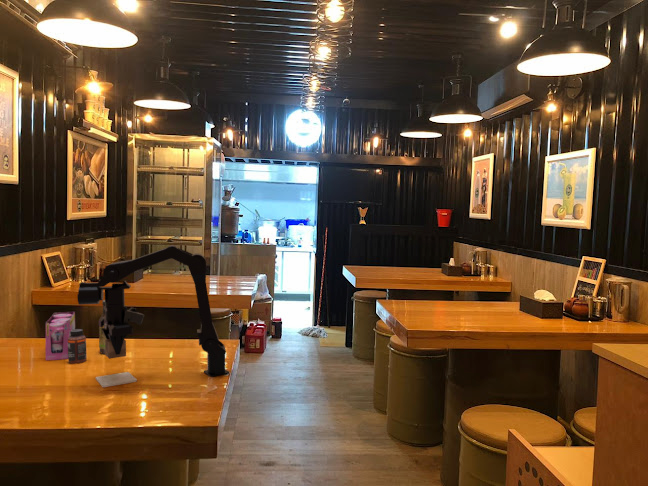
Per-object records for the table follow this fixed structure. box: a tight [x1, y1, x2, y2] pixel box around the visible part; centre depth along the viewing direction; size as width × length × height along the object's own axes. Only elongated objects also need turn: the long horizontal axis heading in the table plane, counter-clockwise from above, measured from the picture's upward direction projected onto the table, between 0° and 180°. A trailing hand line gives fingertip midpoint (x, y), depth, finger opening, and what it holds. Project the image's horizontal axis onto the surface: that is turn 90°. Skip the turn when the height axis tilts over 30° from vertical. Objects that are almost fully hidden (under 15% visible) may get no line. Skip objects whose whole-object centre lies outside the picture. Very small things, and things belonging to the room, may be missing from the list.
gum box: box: [45, 311, 76, 361], centre depth 198 cm, size 24×8×14 cm, turn 20°
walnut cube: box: [105, 338, 127, 359], centre depth 164 cm, size 5×5×5 cm
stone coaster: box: [95, 371, 138, 388], centre depth 165 cm, size 10×10×1 cm
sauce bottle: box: [98, 299, 106, 355], centre depth 198 cm, size 6×6×20 cm
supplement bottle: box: [67, 328, 87, 364], centre depth 185 cm, size 6×6×11 cm
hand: (115, 352), depth 164 cm, fingers closed on walnut cube, 5 cm apart
